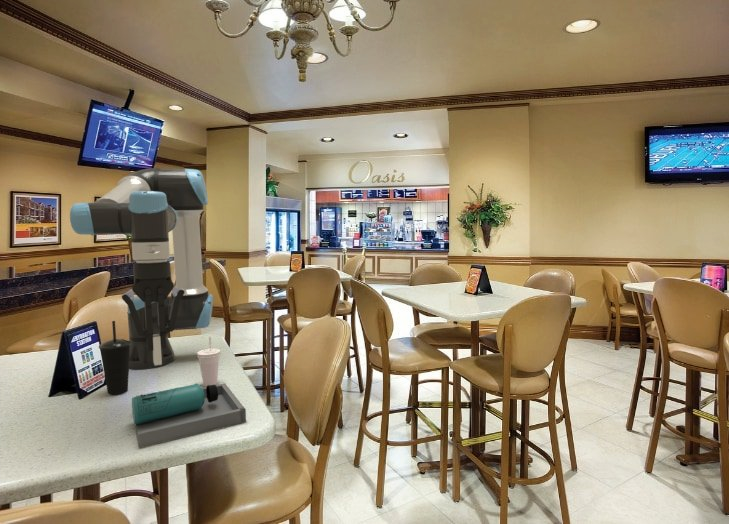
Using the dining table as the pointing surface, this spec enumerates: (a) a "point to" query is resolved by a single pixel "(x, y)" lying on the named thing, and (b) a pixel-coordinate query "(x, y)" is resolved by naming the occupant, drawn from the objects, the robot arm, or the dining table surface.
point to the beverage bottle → (170, 402)
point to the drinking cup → (116, 363)
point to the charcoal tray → (194, 420)
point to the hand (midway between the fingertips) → (157, 363)
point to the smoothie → (209, 364)
